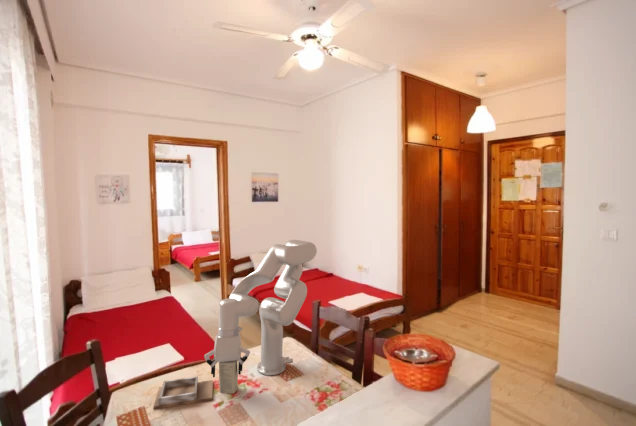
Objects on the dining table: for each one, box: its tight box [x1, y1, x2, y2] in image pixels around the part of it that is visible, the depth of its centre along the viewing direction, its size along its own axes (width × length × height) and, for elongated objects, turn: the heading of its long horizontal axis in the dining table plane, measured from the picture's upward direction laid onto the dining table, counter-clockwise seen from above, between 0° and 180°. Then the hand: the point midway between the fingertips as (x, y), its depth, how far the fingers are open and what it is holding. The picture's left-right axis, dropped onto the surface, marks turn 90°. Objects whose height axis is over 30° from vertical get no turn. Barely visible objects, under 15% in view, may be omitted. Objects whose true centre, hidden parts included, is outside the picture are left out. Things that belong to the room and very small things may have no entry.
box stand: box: [153, 376, 214, 410], centre depth 126 cm, size 20×12×4 cm, turn 107°
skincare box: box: [218, 360, 239, 394], centre depth 129 cm, size 6×4×12 cm
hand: (226, 374), depth 129 cm, fingers open, 9 cm apart
